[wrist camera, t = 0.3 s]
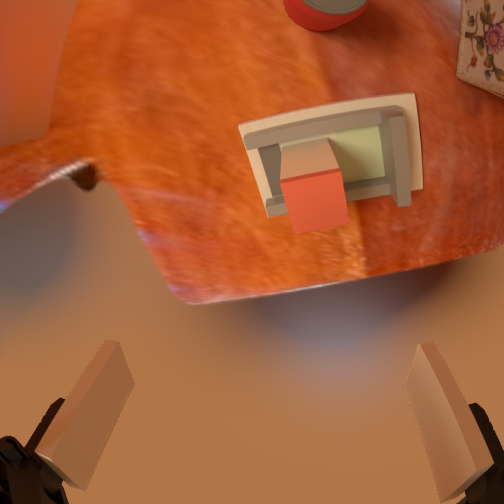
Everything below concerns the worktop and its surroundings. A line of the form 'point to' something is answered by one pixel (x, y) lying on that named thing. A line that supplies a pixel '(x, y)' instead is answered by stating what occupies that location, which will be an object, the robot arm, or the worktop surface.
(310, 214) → the block
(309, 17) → the beer can
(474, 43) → the decorative jar
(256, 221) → the worktop surface
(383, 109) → the grey tray
